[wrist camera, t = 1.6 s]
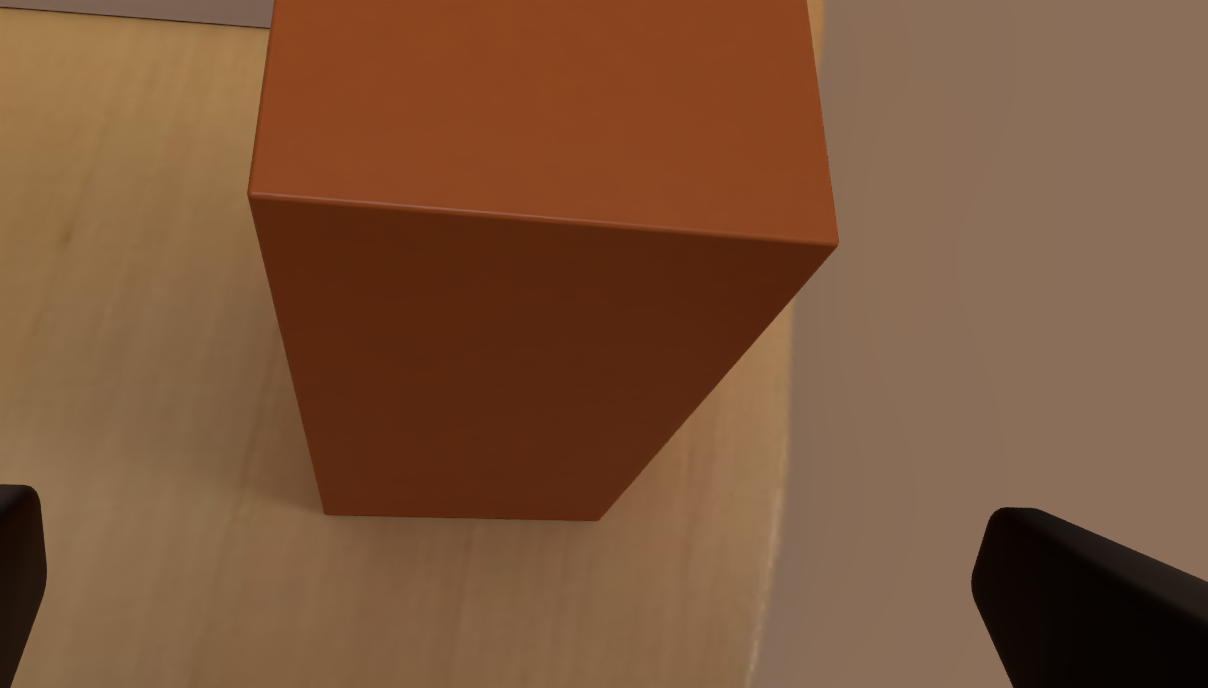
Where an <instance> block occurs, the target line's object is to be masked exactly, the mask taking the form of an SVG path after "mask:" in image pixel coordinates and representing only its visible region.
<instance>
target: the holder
mask: <svg viewBox="0 0 1208 688" xmlns="http://www.w3.org/2000/svg"><path fill="white" fill-rule="evenodd" d="M273 4H274V0H0V6H3V7H15V8H28V9H40V10H53V11H65V12H78V13H90V14H103V15H115V16H128V17H141V18H153V19H166V20H178V21H191V22H203V23H216V24H228V25H241V26H254V27H266V28H270V26H271V18H272V11H273Z"/></svg>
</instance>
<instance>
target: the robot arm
mask: <svg viewBox="0 0 1208 688" xmlns="http://www.w3.org/2000/svg"><path fill="white" fill-rule="evenodd" d="M46 579H47V563H46V553H45V543H44V533H43V524H42V514H41V504H40V499H39V497H38V494H37V492H36V491H35V490H34V489H33V488H32V487H31V486H26V485H6V484H0V688H10V687H11V684H12V681H13V679H14V676H15V673H16V670H17V668H18V665H19V662H20V659H21V657H22V654H23V651H24V648H25V645H26V643H27V640H28V637H29V634H30V632H31V629H32V626H33V623H34V621H35V618H36V615H37V612H38V609H39V607H40V604H41V601H42V598H43V595H44V591H45V586H46ZM971 587H972V594H973V598H974V601H975V603H976V605H977V608H978V610H979V612H980V614H981V617H982V619H983V621H984V623H985V626H986V628H987V630H988V632H989V634H990V637H991V639H992V641H993V643H994V646H995V648H996V650H997V652H998V655H999V657H1000V659H1001V661H1002V663H1003V665H1004V668H1005V670H1006V672H1007V675H1008V677H1009V679H1010V681H1011V683H1012V686H1013V688H1208V582H1207V581H1204V580H1202V579H1200V578H1197V577H1195V576H1192V575H1190V574H1188V573H1186V572H1183V571H1181V570H1179V569H1176V568H1174V567H1172V566H1170V565H1167V564H1165V563H1163V562H1160V561H1158V560H1156V559H1153V558H1151V557H1149V556H1146V555H1144V554H1142V553H1139V552H1137V551H1135V550H1132V549H1130V548H1128V547H1125V546H1123V545H1121V544H1118V543H1116V542H1114V541H1111V540H1109V539H1107V538H1105V537H1102V536H1100V535H1098V534H1095V533H1093V532H1091V531H1088V530H1086V529H1084V528H1081V527H1079V526H1077V525H1074V524H1072V523H1070V522H1067V521H1065V520H1063V519H1060V518H1058V517H1056V516H1053V515H1051V514H1049V513H1046V512H1044V511H1042V510H1039V509H1035V508H1014V507H1005V508H1000V509H998V510H997V511H995V512H994V513H993V515H992V516H991V517H990V519H989V521H988V525H987V527H986V531H985V534H984V537H983V541H982V543H981V547H980V550H979V553H978V556H977V560H976V563H975V566H974V569H973V573H972V580H971Z"/></svg>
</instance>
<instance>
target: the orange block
mask: <svg viewBox="0 0 1208 688" xmlns="http://www.w3.org/2000/svg"><path fill="white" fill-rule="evenodd" d="M247 195H248V199H249V203H250V208H251V212H252V216H253V220H254V224H255V228H256V232H257V237H258V241H259V245H260V249H261V253H262V257H263V261H264V265H265V270H266V274H267V278H268V282H269V286H270V290H271V294H272V298H273V303H274V307H275V311H276V315H277V319H278V323H279V327H280V332H281V336H282V340H283V344H284V348H285V352H286V356H287V360H288V365H289V369H290V373H291V377H292V381H293V385H294V389H295V394H296V398H297V402H298V406H299V410H300V414H301V418H302V422H303V427H304V431H305V435H306V439H307V443H308V447H309V451H310V456H311V460H312V464H313V468H314V472H315V476H316V480H317V484H318V489H319V493H320V497H321V501H322V505H323V509H324V513H325V514H326V515H362V516H407V517H451V518H495V519H539V520H584V521H598V520H600V519H601V517H602V516H603V515H604V514H605V513H606V512H607V511H608V509H609V508H610V507H611V506H612V505H613V504H614V503H615V501H616V500H617V499H618V498H619V497H620V496H621V494H622V493H623V492H624V491H625V490H626V489H627V488H628V486H629V485H630V484H631V483H632V482H633V481H634V480H635V478H636V477H637V476H638V475H639V474H640V473H641V472H642V470H643V469H644V468H645V467H646V466H647V465H648V463H649V462H650V461H651V460H652V459H653V458H654V457H655V455H656V454H657V453H658V452H659V451H660V450H661V449H662V447H663V446H664V445H665V444H666V443H667V442H668V441H669V439H670V438H671V437H672V436H673V435H674V434H675V432H676V431H677V430H678V429H679V428H680V427H681V426H682V424H683V423H684V422H685V421H686V420H687V419H688V418H689V416H690V415H691V414H692V413H693V412H694V411H695V410H696V408H697V407H698V406H699V405H700V404H701V403H702V401H703V400H704V399H705V398H706V397H707V396H708V395H709V393H710V392H711V391H712V390H713V389H714V388H715V387H716V385H717V384H718V383H719V382H720V381H721V380H722V379H723V377H724V376H725V375H726V374H727V373H728V372H729V370H730V369H731V368H732V367H733V366H734V365H735V364H736V362H737V361H738V360H739V359H740V358H741V357H742V356H743V354H744V353H745V352H746V351H747V350H748V349H749V347H750V346H751V345H752V344H753V343H754V342H755V341H756V339H757V338H758V337H759V336H760V335H761V334H762V333H763V331H764V330H765V329H766V328H767V327H768V326H769V325H770V323H771V322H772V321H773V320H774V319H775V318H776V316H777V315H778V314H779V313H780V312H781V311H782V310H783V308H784V307H785V306H786V305H787V304H788V303H789V302H790V300H791V299H792V298H793V297H794V296H795V295H796V294H797V292H798V291H799V290H800V289H801V288H802V287H803V285H804V284H805V283H806V282H807V281H808V280H809V278H810V277H811V276H812V275H813V274H814V273H815V272H816V271H817V269H818V268H819V267H820V266H821V265H822V264H823V262H824V261H825V260H826V259H827V258H828V256H830V254H831V253H832V252H833V251H834V250H835V249H836V248H837V246H838V244H839V238H838V231H837V224H836V216H835V209H834V201H833V194H832V186H831V179H830V172H829V164H828V156H827V149H826V143H825V134H824V127H823V119H822V112H821V104H820V97H819V90H818V82H817V75H816V67H815V60H814V52H813V45H812V37H811V30H810V23H809V15H808V8H807V0H274V4H273V11H272V18H271V26H270V33H269V40H268V47H267V54H266V62H265V69H264V76H263V83H262V90H261V98H260V105H259V112H258V119H257V126H256V134H255V141H254V148H253V155H252V162H251V170H250V177H249V184H248V191H247Z"/></svg>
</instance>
